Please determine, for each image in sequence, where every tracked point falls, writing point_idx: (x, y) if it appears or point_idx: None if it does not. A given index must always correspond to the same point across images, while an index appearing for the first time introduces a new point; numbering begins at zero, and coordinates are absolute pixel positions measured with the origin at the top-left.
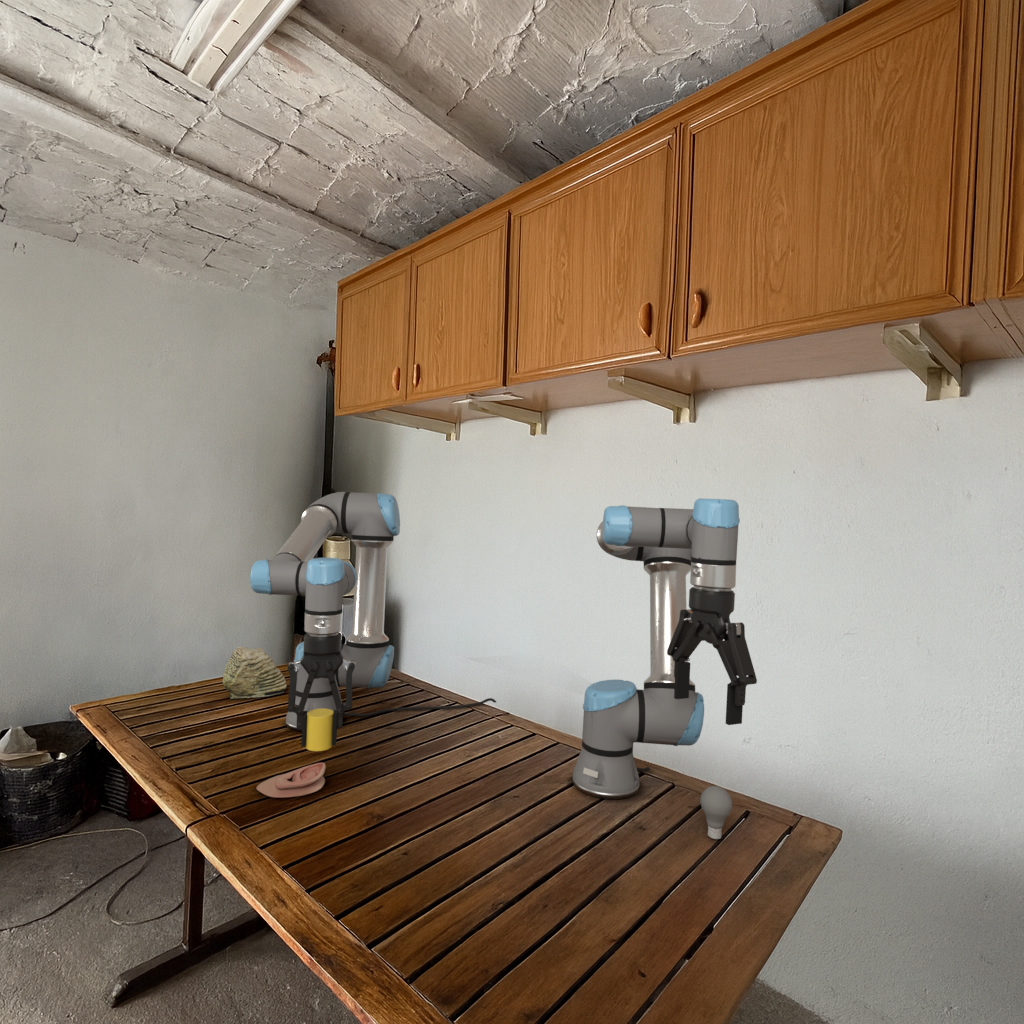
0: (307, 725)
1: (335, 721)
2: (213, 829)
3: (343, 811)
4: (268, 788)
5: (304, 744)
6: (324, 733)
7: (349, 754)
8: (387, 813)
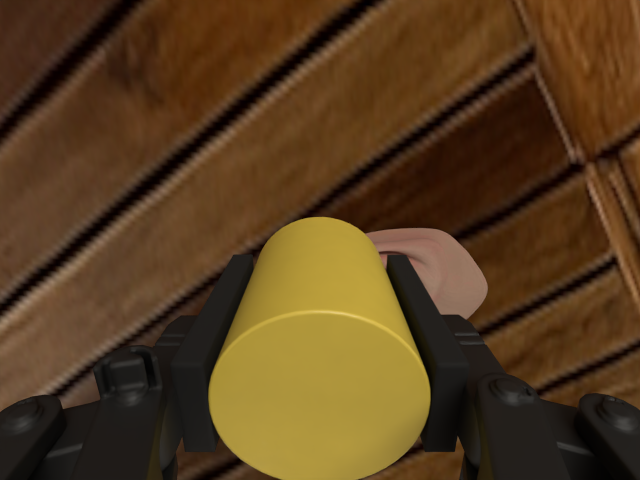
0: (403, 316)
1: (201, 327)
2: (608, 65)
3: (237, 124)
4: (459, 266)
5: (393, 258)
6: (284, 256)
7: None
8: (100, 90)
